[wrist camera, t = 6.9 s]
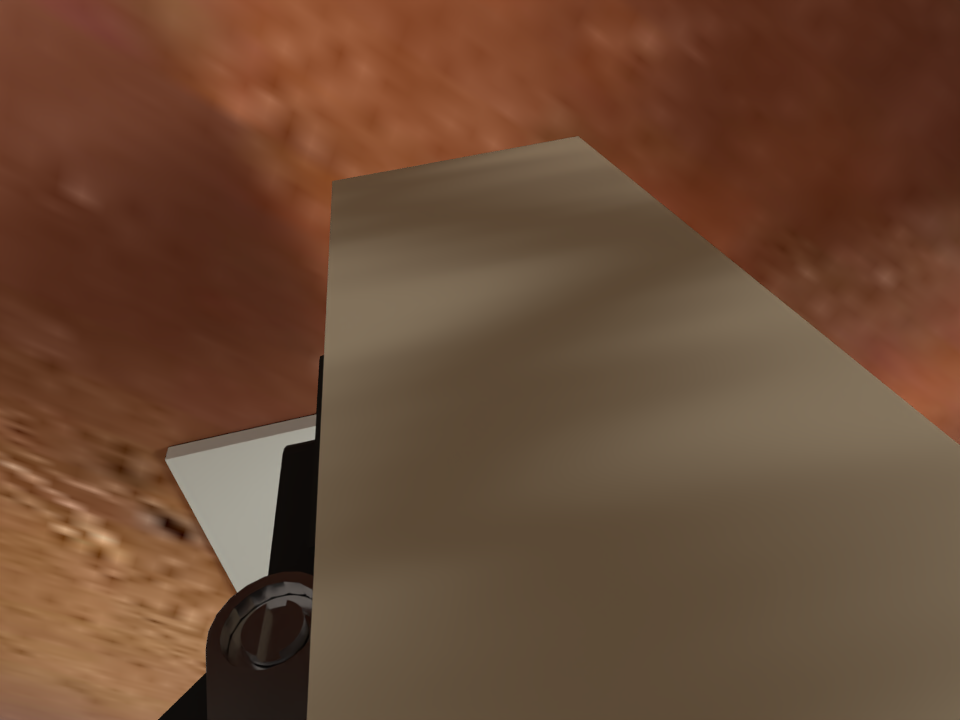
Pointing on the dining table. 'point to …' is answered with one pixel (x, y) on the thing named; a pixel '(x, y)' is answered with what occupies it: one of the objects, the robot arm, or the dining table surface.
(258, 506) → the rubber mat
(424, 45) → the dining table surface
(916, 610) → the beige and green box
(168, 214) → the dining table surface
